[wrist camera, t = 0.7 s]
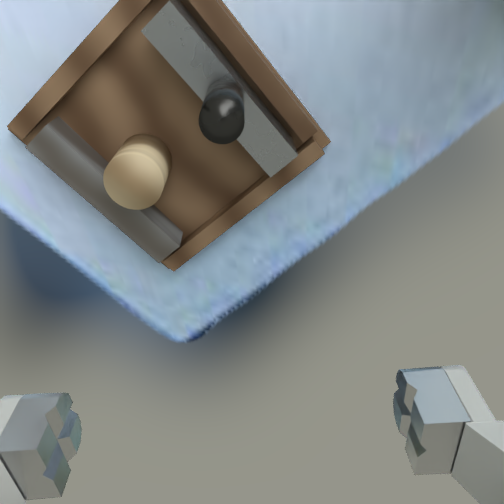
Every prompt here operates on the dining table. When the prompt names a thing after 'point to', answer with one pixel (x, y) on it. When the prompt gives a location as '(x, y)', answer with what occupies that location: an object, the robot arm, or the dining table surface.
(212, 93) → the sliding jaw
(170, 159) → the beige wooden cylinder
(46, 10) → the dining table surface
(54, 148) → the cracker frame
